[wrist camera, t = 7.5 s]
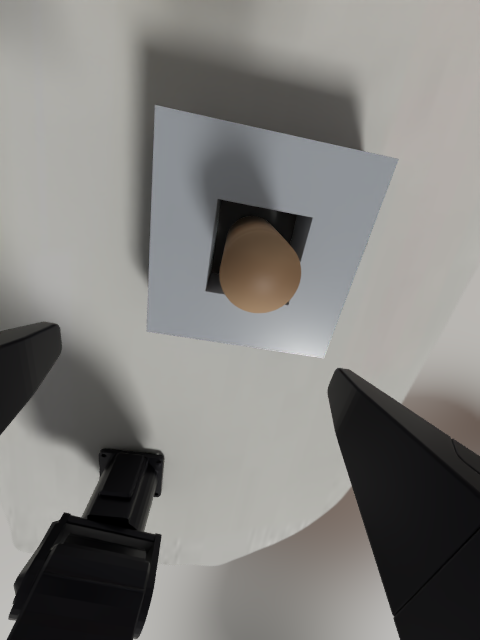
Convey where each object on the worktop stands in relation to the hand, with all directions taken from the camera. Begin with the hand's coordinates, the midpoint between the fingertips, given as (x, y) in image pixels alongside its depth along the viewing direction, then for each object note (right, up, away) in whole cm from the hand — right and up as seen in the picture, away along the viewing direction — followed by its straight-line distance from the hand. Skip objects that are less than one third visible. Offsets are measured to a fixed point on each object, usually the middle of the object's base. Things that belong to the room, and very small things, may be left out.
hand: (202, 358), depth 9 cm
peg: (+2, +7, +10) cm, 12 cm away
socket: (+2, +7, +10) cm, 12 cm away
